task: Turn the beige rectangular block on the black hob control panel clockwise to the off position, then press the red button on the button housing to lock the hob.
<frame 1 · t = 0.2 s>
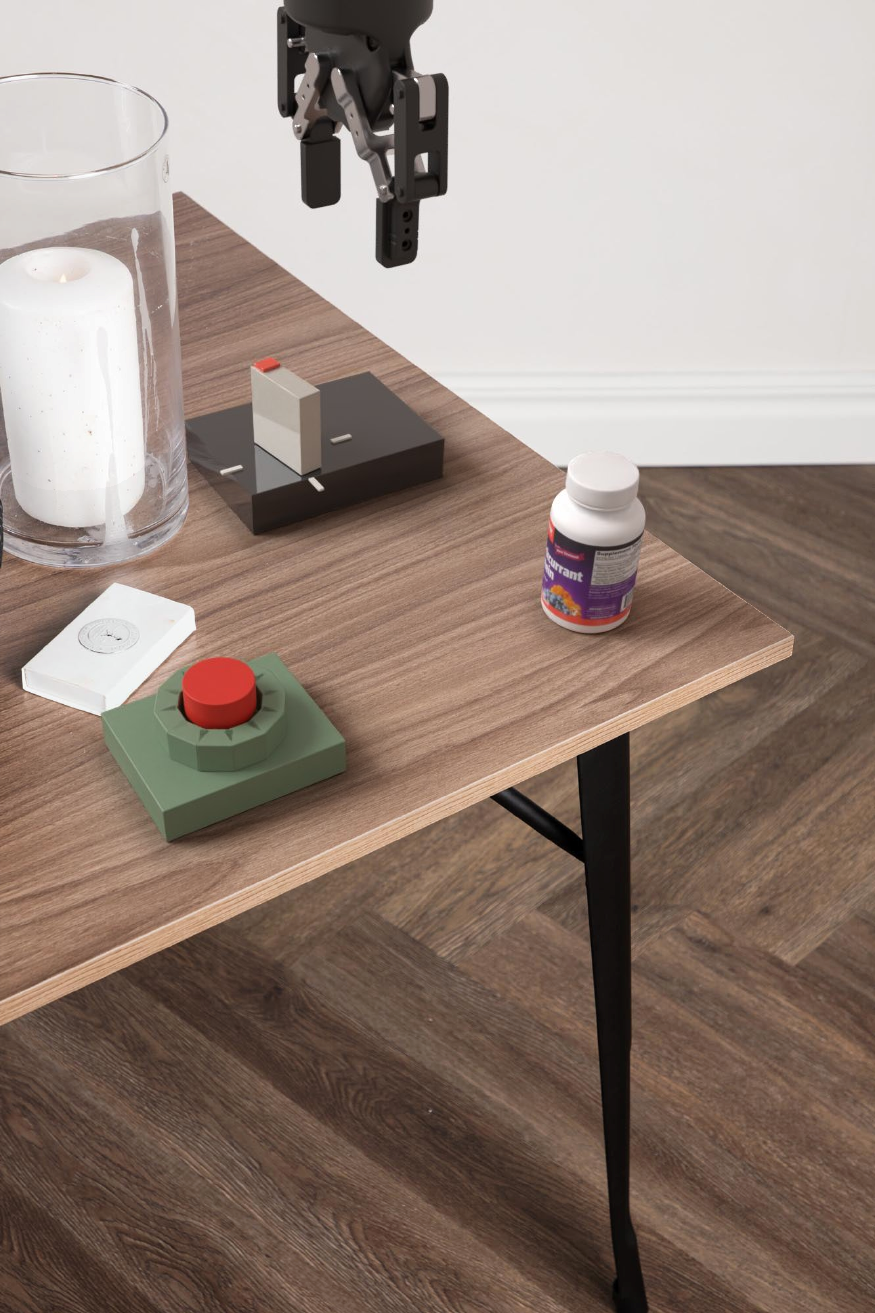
hand: (357, 233, 79), 19 cm above the table, tool pointing down, fingers open, 8 cm apart
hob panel: (315, 467, 95), on the table
button housing: (224, 757, 74), on the table
pill bottle: (584, 610, 85), on the table
beige rectangular block: (286, 415, 88), point 6 cm above the table, hinge at 100.0°
lock button: (219, 693, 71), point 4 cm above the table, slide at 0.1 cm
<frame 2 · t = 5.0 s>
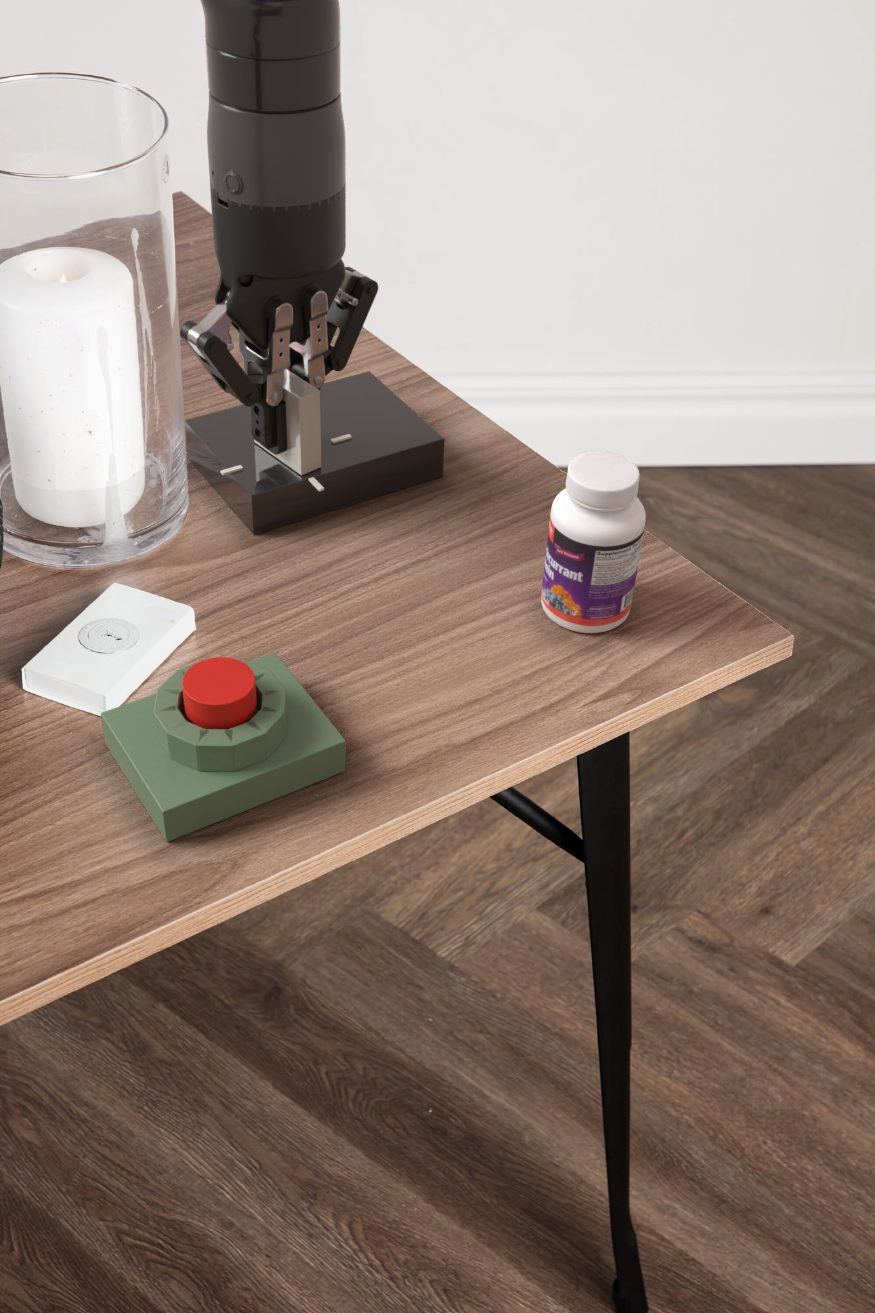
hand: (286, 441, 90), 4 cm above the table, tool pointing down, fingers closed on beige rectangular block
beige rectangular block: (286, 415, 88), point 6 cm above the table, hinge at 100.0°, touching gripper
everything else where it was.
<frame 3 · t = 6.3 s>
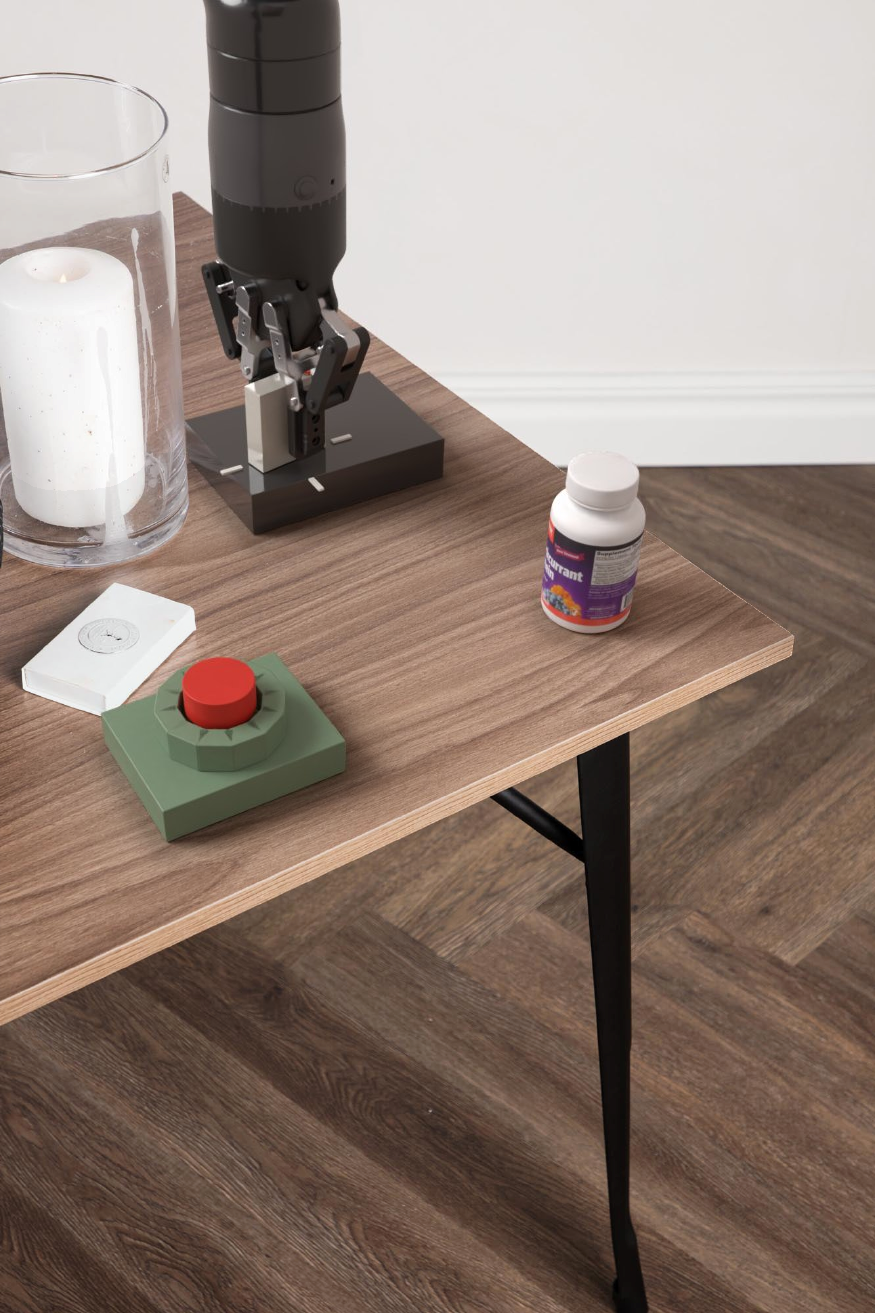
hand: (287, 440, 90), 4 cm above the table, tool pointing down, fingers open, 3 cm apart
beige rectangular block: (286, 415, 88), point 6 cm above the table, hinge at 10.4°
everything else where it was.
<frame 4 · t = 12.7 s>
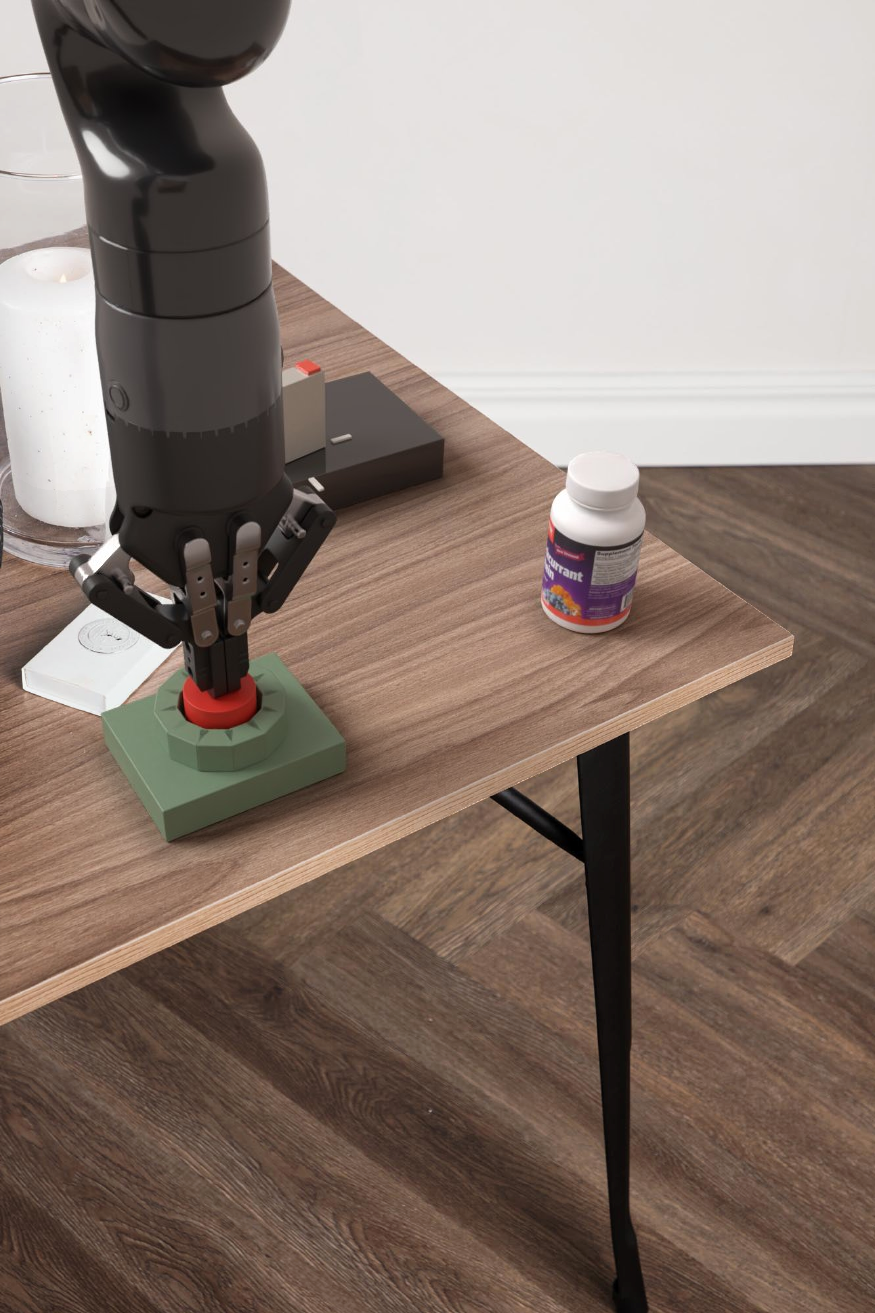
hand: (218, 684, 71), 5 cm above the table, tool pointing down, fingers closed
lock button: (220, 700, 71), point 4 cm above the table, slide at -0.4 cm, touching gripper
everything else where it was.
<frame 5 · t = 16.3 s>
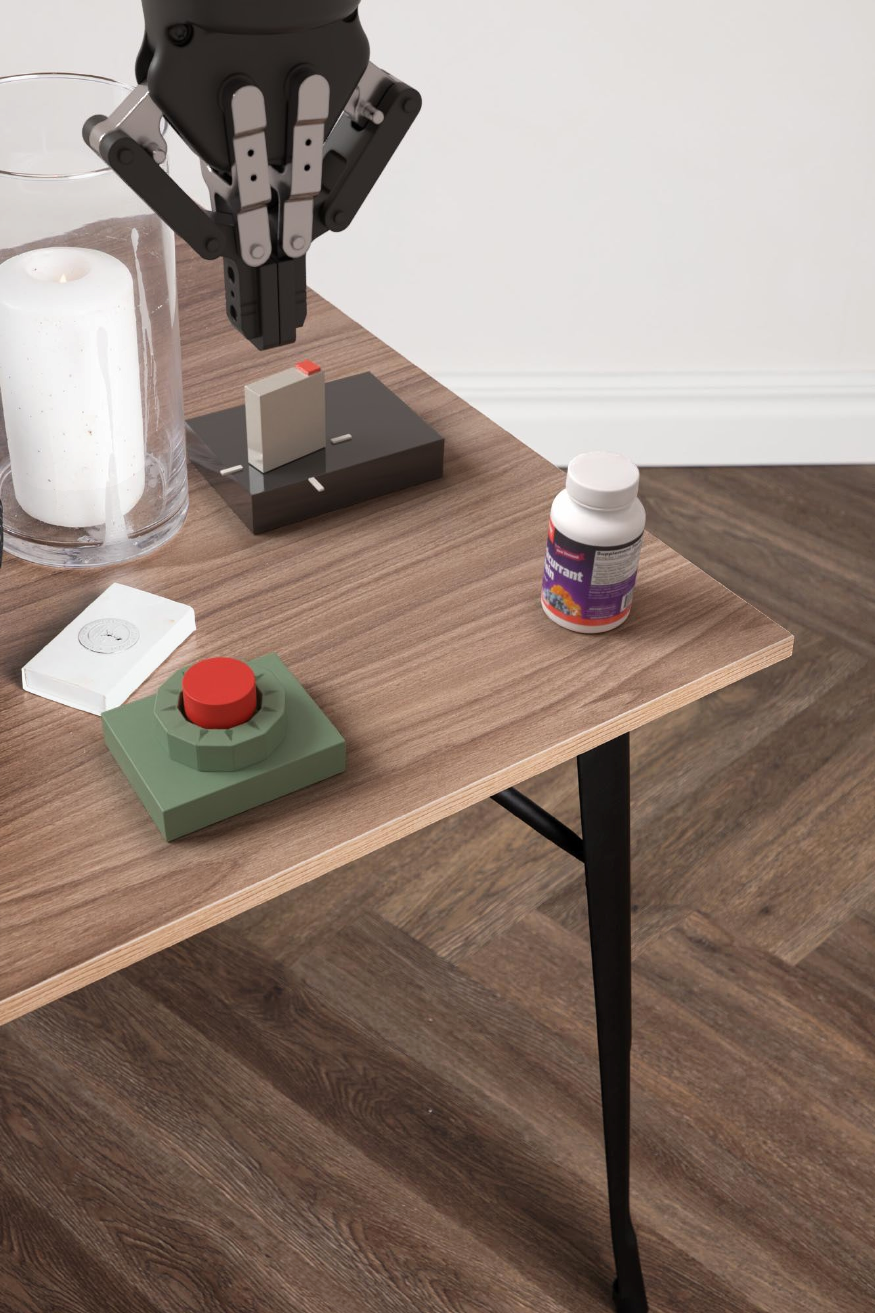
hand: (267, 338, 56), 25 cm above the table, tool pointing down, fingers closed
lock button: (219, 693, 71), point 4 cm above the table, slide at 0.1 cm
everything else where it was.
at the end: beige rectangular block at +10° (first picture: +100°); lock button pushed in 1.1 cm at the most during the clip, back to where it started at the end; lock button slide at 0.1 cm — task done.
